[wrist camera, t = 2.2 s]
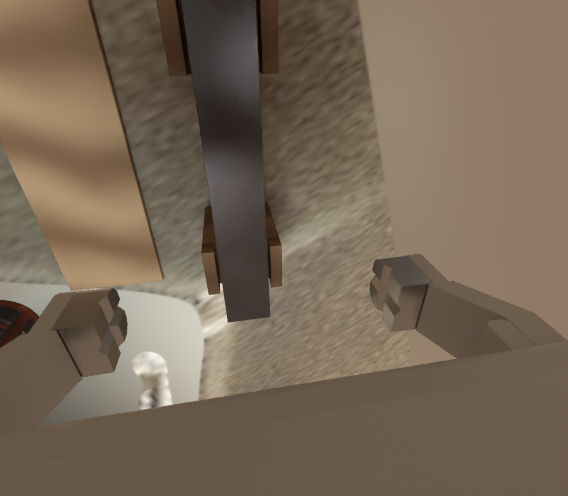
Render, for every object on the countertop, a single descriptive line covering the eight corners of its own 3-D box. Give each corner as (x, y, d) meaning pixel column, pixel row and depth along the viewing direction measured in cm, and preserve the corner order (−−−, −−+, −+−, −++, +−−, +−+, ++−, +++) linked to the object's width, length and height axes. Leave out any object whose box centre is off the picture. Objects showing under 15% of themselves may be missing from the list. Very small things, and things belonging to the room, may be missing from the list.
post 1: (172, 1, 20) (152, -19, 14) (259, 2, 20) (276, -17, 14) (183, 68, 22) (169, 76, 16) (262, 66, 22) (278, 73, 16)
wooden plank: (-100, -80, 16) (-107, -83, 16) (70, -73, 17) (67, -76, 17) (72, 287, 29) (70, 290, 29) (163, 277, 30) (163, 280, 30)
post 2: (205, 207, 27) (201, 253, 21) (267, 202, 28) (281, 245, 22) (210, 243, 29) (208, 294, 23) (269, 238, 30) (282, 286, 24)
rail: (179, -49, 14) (171, -70, 12) (246, -47, 15) (252, -66, 12) (226, 294, 25) (228, 322, 22) (265, 290, 25) (270, 316, 23)
